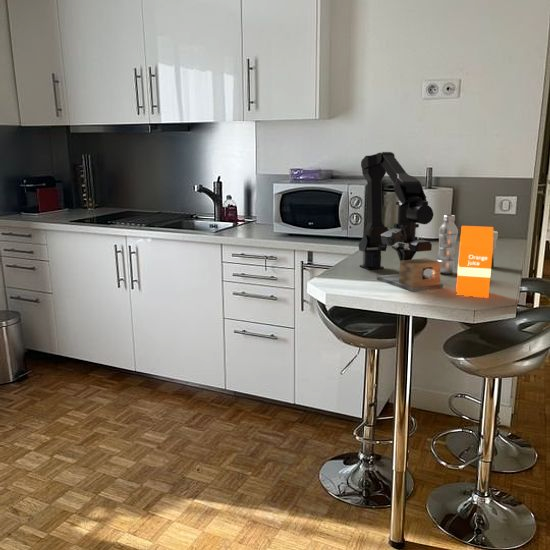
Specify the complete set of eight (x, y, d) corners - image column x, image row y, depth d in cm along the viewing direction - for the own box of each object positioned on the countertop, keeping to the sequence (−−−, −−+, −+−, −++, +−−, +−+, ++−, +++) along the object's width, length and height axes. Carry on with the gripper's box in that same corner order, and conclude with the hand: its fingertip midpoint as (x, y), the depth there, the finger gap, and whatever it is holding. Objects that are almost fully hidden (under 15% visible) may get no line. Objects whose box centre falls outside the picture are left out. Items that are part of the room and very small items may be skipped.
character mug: (500, 269, 196) (504, 233, 193) (481, 269, 195) (484, 233, 192) (487, 263, 206) (490, 229, 203) (468, 263, 206) (471, 229, 203)
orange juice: (455, 289, 167) (461, 224, 163) (486, 291, 165) (492, 225, 160) (456, 295, 160) (461, 227, 156) (488, 298, 157) (495, 228, 153)
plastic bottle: (450, 271, 193) (455, 214, 188) (457, 275, 186) (462, 216, 182) (432, 271, 193) (436, 214, 188) (439, 275, 186) (443, 216, 182)
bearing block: (376, 279, 180) (377, 255, 178) (406, 275, 185) (407, 252, 183) (411, 291, 164) (413, 265, 162) (442, 287, 169) (444, 262, 167)
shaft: (401, 276, 174) (402, 260, 172) (414, 274, 176) (415, 258, 175) (425, 284, 163) (426, 267, 162) (439, 282, 165) (440, 265, 164)
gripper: (368, 218, 178) (366, 265, 181) (404, 225, 161) (401, 277, 165) (396, 217, 182) (394, 263, 186) (434, 223, 166) (431, 274, 169)
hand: (404, 269), depth 176 cm, fingers closed
